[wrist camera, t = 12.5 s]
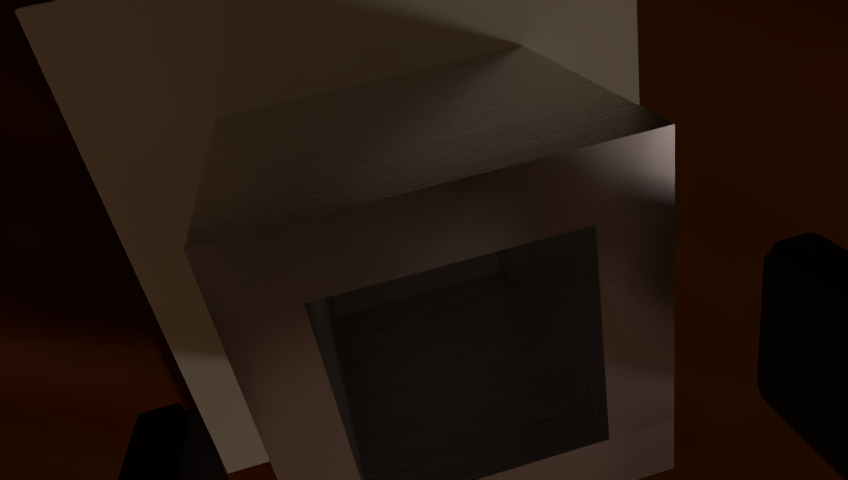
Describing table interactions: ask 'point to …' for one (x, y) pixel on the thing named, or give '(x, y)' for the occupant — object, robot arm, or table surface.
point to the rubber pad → (257, 87)
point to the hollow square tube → (456, 304)
